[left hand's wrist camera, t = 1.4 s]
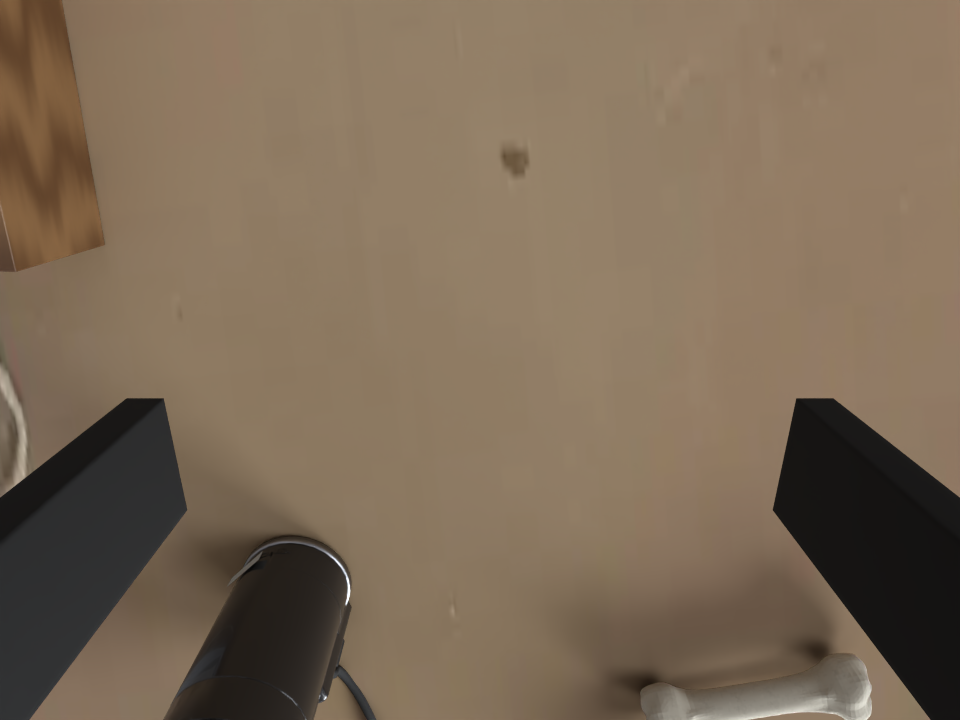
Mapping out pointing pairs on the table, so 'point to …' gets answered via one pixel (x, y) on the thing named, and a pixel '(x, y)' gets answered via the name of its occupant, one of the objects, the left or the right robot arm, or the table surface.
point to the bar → (42, 142)
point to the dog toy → (770, 695)
